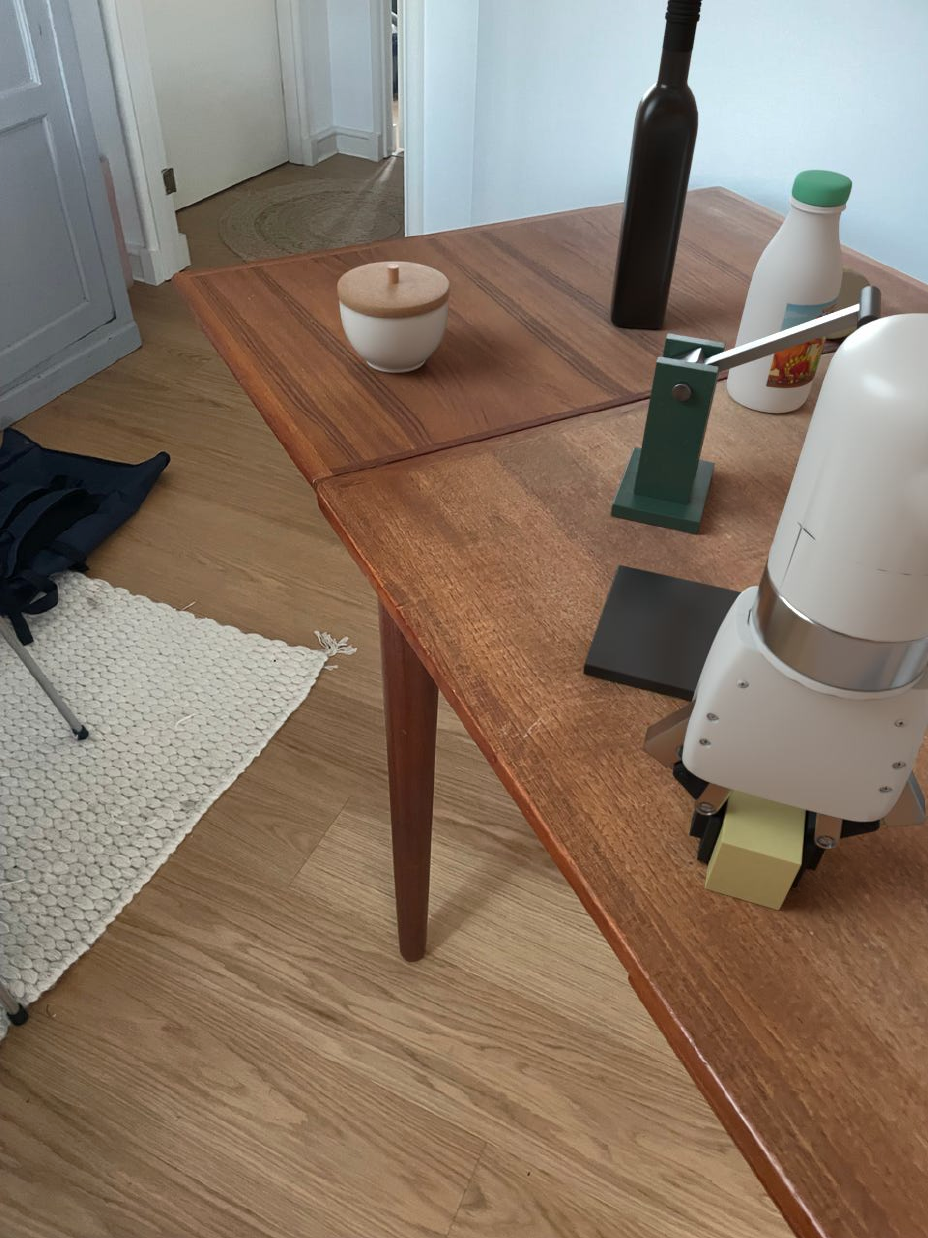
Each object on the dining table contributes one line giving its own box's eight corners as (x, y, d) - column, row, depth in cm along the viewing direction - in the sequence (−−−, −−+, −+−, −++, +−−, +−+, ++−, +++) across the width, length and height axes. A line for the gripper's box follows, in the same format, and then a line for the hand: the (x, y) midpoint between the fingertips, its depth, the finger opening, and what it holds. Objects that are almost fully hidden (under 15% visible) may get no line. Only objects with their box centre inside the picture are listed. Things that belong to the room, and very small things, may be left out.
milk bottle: (726, 410, 88) (780, 188, 74) (723, 371, 93) (773, 158, 80) (810, 419, 87) (880, 196, 73) (802, 379, 93) (866, 165, 79)
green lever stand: (712, 474, 80) (746, 333, 71) (697, 534, 74) (732, 389, 65) (632, 458, 82) (655, 318, 73) (610, 516, 75) (633, 371, 67)
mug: (843, 304, 106) (894, 245, 97) (828, 374, 103) (879, 320, 93) (782, 282, 106) (827, 220, 96) (765, 350, 103) (810, 294, 93)
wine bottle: (660, 308, 104) (716, -14, 83) (663, 331, 100) (722, -2, 79) (609, 304, 104) (652, -17, 84) (610, 327, 100) (655, -5, 80)
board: (779, 611, 67) (783, 601, 67) (765, 720, 60) (769, 710, 59) (616, 574, 70) (618, 563, 69) (582, 674, 62) (584, 663, 62)
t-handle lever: (885, 307, 65) (876, 275, 64) (885, 338, 62) (874, 305, 60) (681, 378, 73) (669, 352, 72) (670, 409, 70) (658, 382, 69)
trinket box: (349, 389, 89) (342, 293, 83) (336, 337, 97) (330, 247, 91) (458, 379, 91) (460, 286, 85) (438, 330, 99) (438, 240, 92)
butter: (787, 822, 54) (809, 774, 51) (779, 911, 50) (801, 864, 47) (718, 803, 55) (735, 754, 52) (704, 888, 51) (721, 841, 48)
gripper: (1048, 603, 41) (904, 842, 53) (665, 521, 44) (614, 763, 57) (1071, 727, 35) (905, 960, 48) (635, 623, 39) (586, 865, 52)
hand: (748, 851), depth 52 cm, fingers closed on butter, 4 cm apart
